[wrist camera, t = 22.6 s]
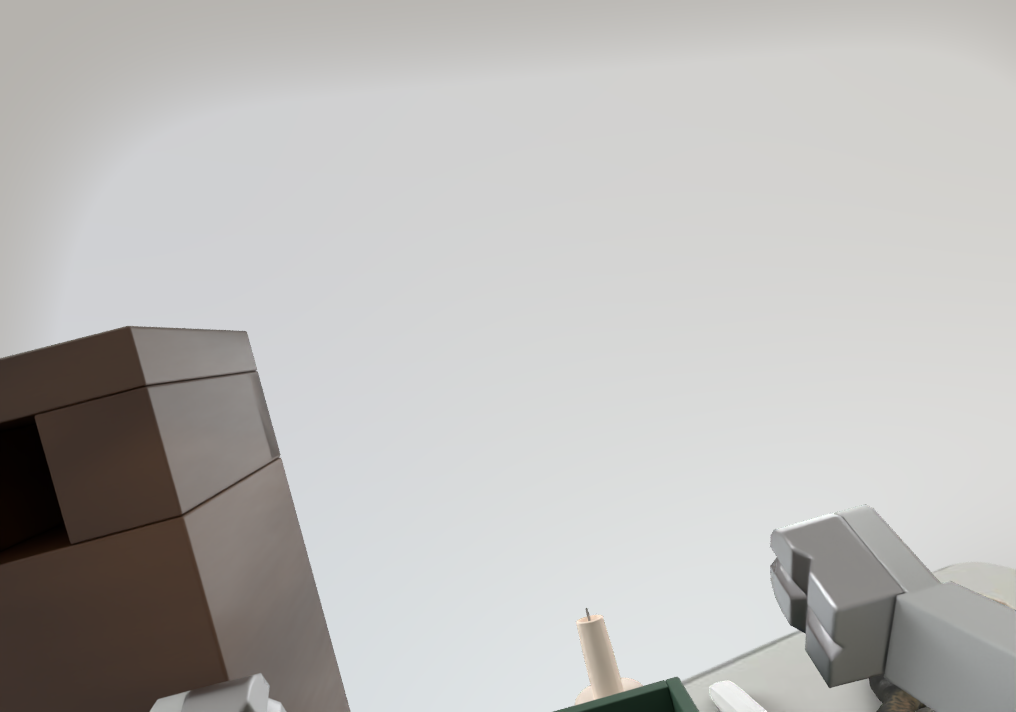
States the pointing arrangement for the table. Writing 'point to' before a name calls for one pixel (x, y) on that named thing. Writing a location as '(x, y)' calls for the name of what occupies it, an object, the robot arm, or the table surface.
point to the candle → (600, 661)
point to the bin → (643, 700)
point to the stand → (150, 529)
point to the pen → (732, 698)
